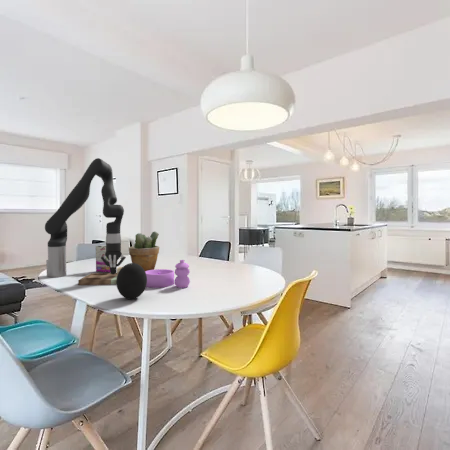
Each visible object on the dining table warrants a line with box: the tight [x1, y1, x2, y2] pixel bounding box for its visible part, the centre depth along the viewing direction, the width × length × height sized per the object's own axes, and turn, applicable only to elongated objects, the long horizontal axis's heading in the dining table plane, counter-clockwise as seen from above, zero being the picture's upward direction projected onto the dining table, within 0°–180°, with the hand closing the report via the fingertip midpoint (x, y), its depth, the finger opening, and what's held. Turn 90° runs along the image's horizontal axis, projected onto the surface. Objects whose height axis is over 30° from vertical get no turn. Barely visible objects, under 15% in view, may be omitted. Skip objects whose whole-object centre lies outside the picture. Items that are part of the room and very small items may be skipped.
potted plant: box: [128, 231, 160, 271], centre depth 187 cm, size 18×19×25 cm
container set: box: [145, 259, 191, 289], centre depth 153 cm, size 25×15×13 cm, turn 68°
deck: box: [77, 272, 117, 286], centre depth 162 cm, size 24×18×5 cm
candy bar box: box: [95, 244, 110, 273], centre depth 188 cm, size 11×5×16 cm, turn 73°
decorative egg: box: [115, 262, 147, 300], centre depth 128 cm, size 12×12×15 cm
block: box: [116, 266, 123, 275], centre depth 163 cm, size 5×5×4 cm
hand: (113, 274), depth 162 cm, fingers closed
